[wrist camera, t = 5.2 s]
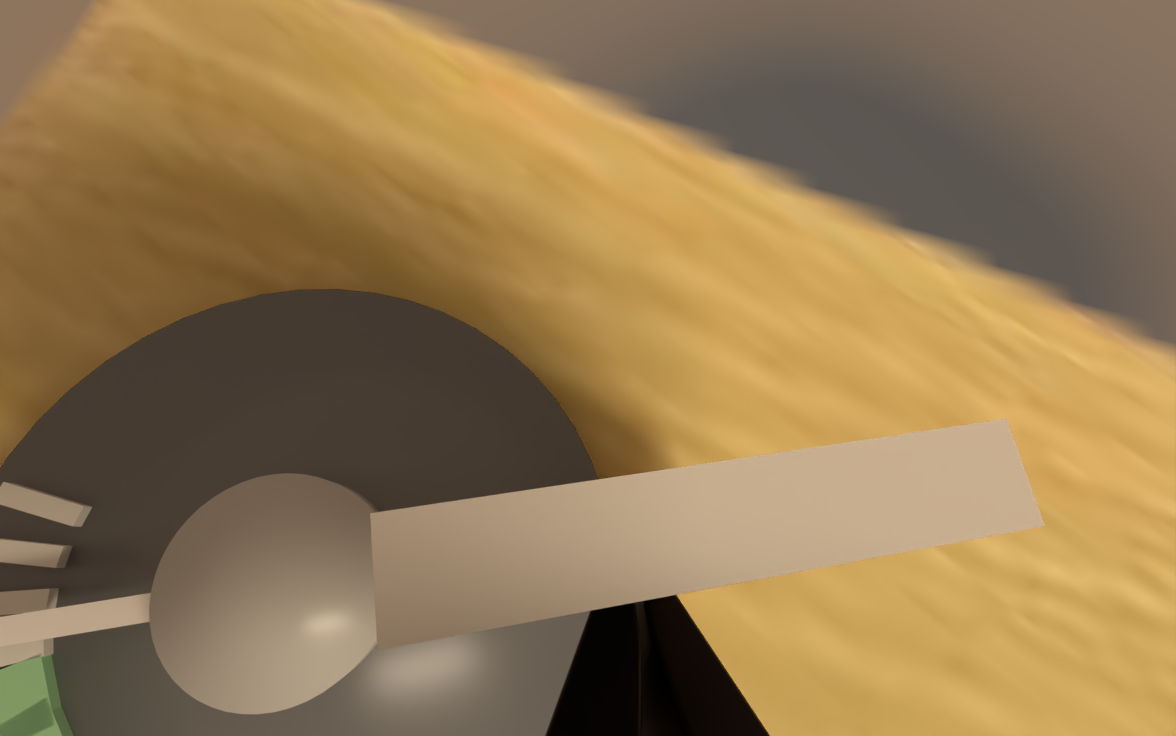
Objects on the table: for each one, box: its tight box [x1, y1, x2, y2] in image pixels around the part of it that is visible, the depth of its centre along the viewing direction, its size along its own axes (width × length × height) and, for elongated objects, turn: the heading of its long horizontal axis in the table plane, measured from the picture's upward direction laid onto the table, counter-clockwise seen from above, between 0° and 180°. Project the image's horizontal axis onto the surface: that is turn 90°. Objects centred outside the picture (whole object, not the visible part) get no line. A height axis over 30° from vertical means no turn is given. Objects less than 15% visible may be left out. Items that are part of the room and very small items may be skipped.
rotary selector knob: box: [0, 419, 1045, 714], centre depth 10 cm, size 18×5×10 cm, turn 98°
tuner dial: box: [0, 289, 598, 736], centre depth 15 cm, size 16×16×1 cm
